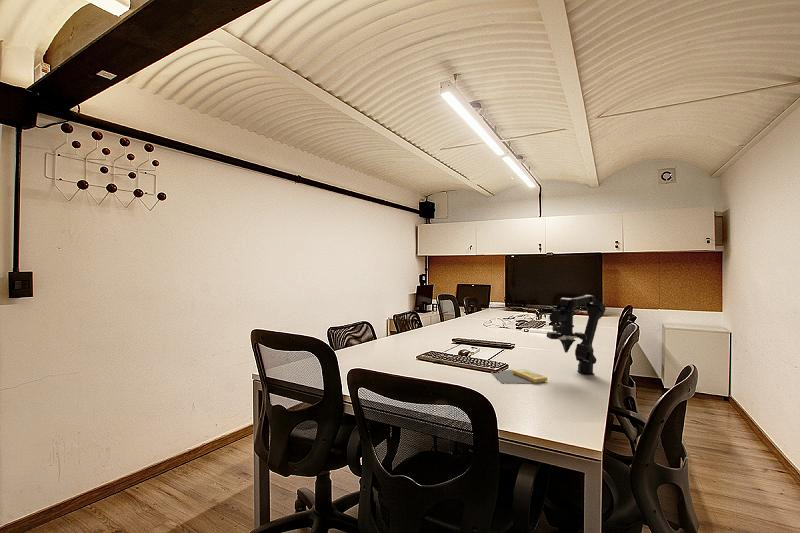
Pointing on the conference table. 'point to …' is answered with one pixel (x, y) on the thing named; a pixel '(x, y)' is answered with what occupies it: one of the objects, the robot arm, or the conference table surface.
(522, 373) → the candy box
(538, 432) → the conference table surface
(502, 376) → the mat
